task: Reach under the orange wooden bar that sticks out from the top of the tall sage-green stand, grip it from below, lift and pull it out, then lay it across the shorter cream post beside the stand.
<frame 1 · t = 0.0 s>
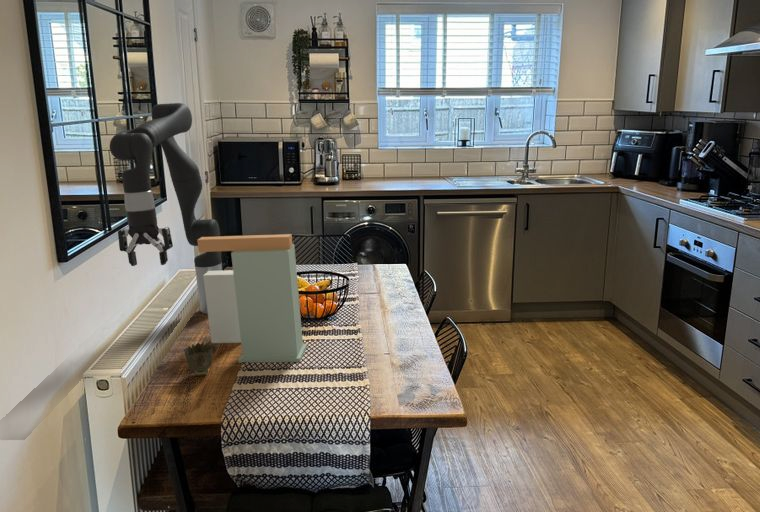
hand: (148, 264, 172), 29 cm above the table, tool pointing down, fingers open, 8 cm apart
stand: (273, 354, 181), on the table
post: (229, 339, 194), on the table
cup: (201, 375, 170), on the table
candle holder: (252, 288, 248), on the table
bar: (245, 249, 173), point 32 cm above the table, touching stand
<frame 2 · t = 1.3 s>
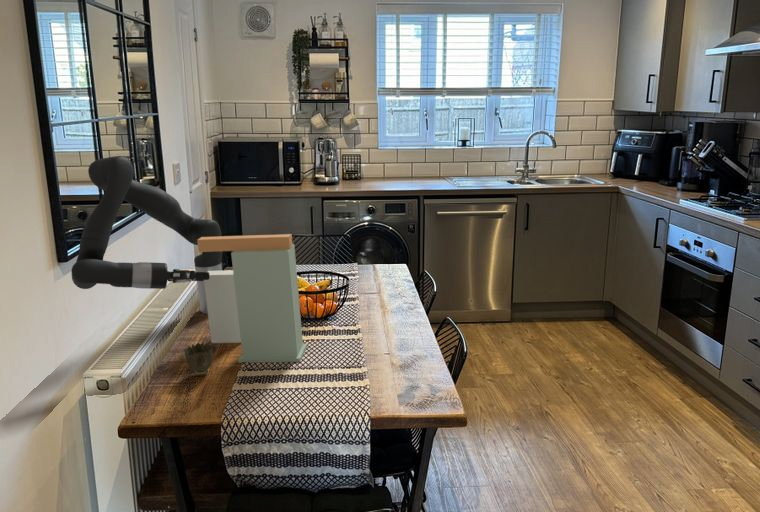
hand: (206, 276, 184), 22 cm above the table, tool horizontal, fingers open, 8 cm apart
nothing on the table moved.
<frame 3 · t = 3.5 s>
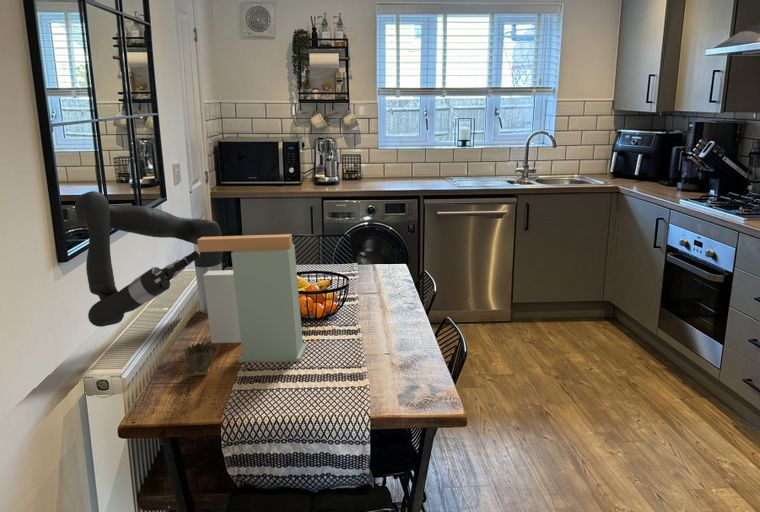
hand: (192, 257, 175), 30 cm above the table, tool pointing upward, fingers open, 8 cm apart
nothing on the table moved.
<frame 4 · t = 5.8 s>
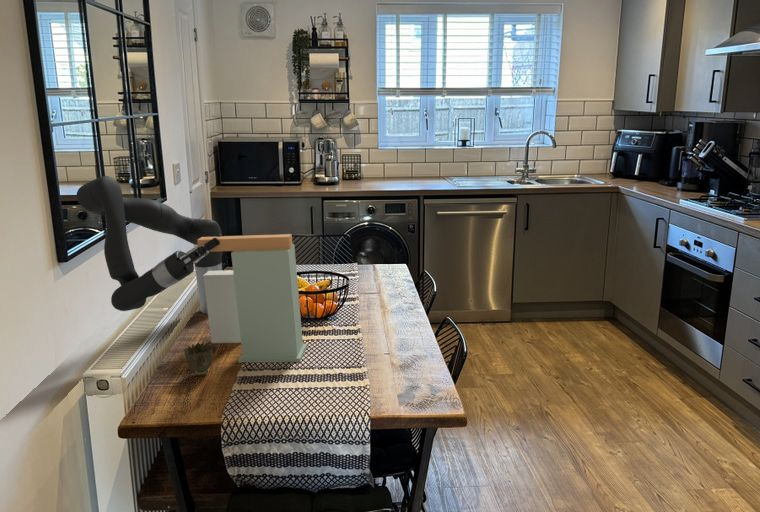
hand: (220, 238, 173), 35 cm above the table, tool pointing upward, fingers closed on bar, 3 cm apart
bar: (245, 249, 173), point 32 cm above the table, touching gripper, stand
everything else where it was.
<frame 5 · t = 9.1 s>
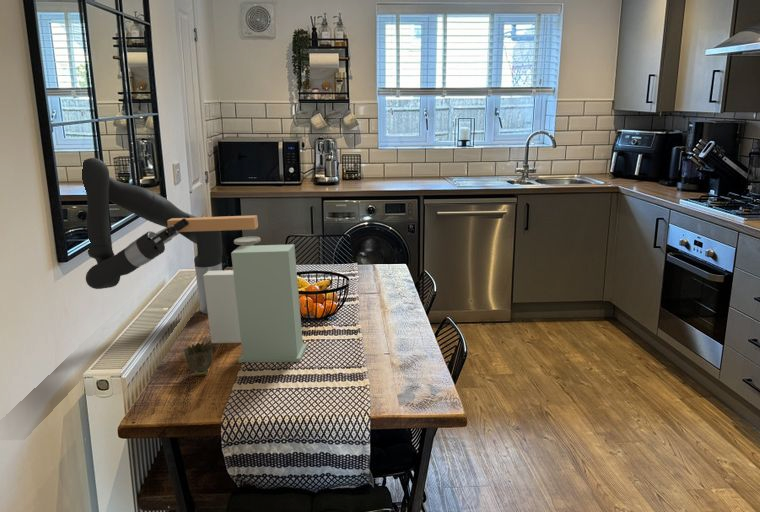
hand: (189, 219, 182), 39 cm above the table, tool pointing upward, fingers closed on bar, 3 cm apart
bar: (213, 229, 183), point 36 cm above the table, touching gripper
everything else where it was.
when the fingers open (26 cm above the table, at t = 12.3 s): bar stays where it is, resting on post.
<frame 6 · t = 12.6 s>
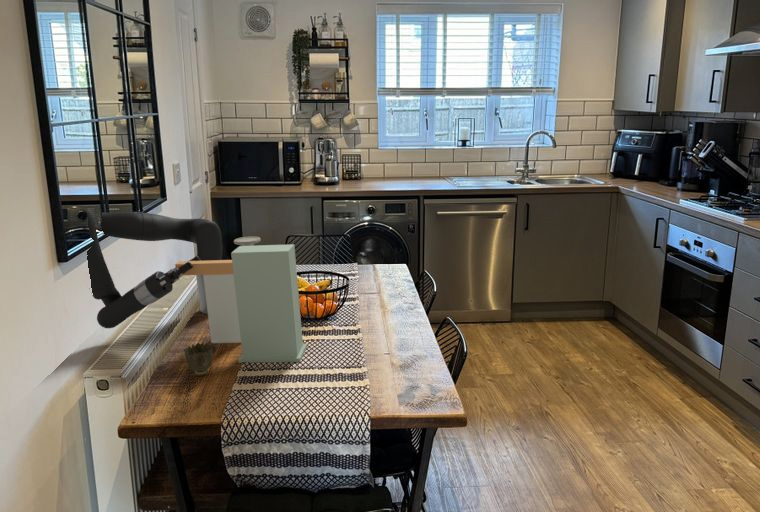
hand: (195, 261, 188), 26 cm above the table, tool pointing upward, fingers open, 6 cm apart
bar: (220, 272, 188), point 22 cm above the table, touching post
everything else where it was.
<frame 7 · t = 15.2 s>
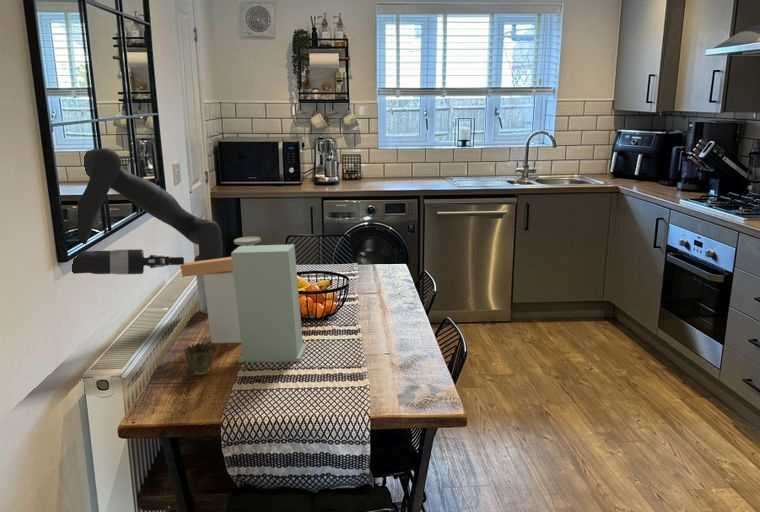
hand: (182, 261, 193), 25 cm above the table, tool horizontal, fingers open, 8 cm apart
bar: (225, 270, 189), point 23 cm above the table, touching post
everything else where it was.
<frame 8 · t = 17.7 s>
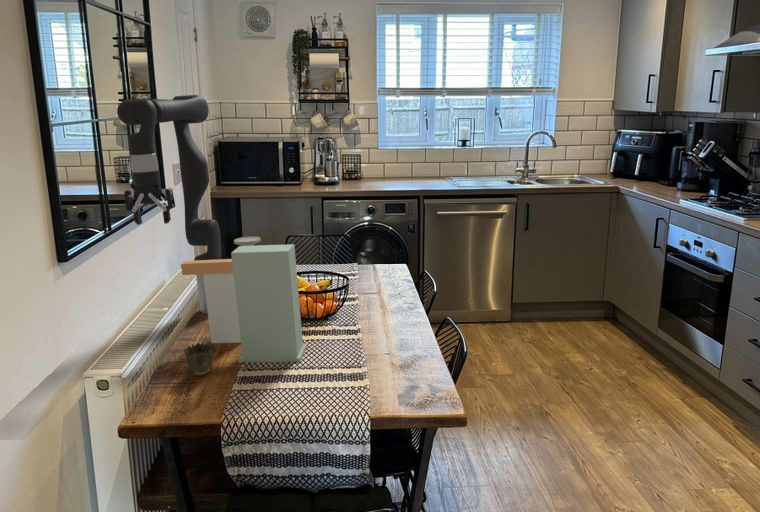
hand: (153, 223, 185), 38 cm above the table, tool pointing down, fingers open, 8 cm apart
at the end: bar inside the target area on the post (1.5 cm from its centre), point 22.0 cm above the post's base; bar touching post; the gripper is holding nothing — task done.
